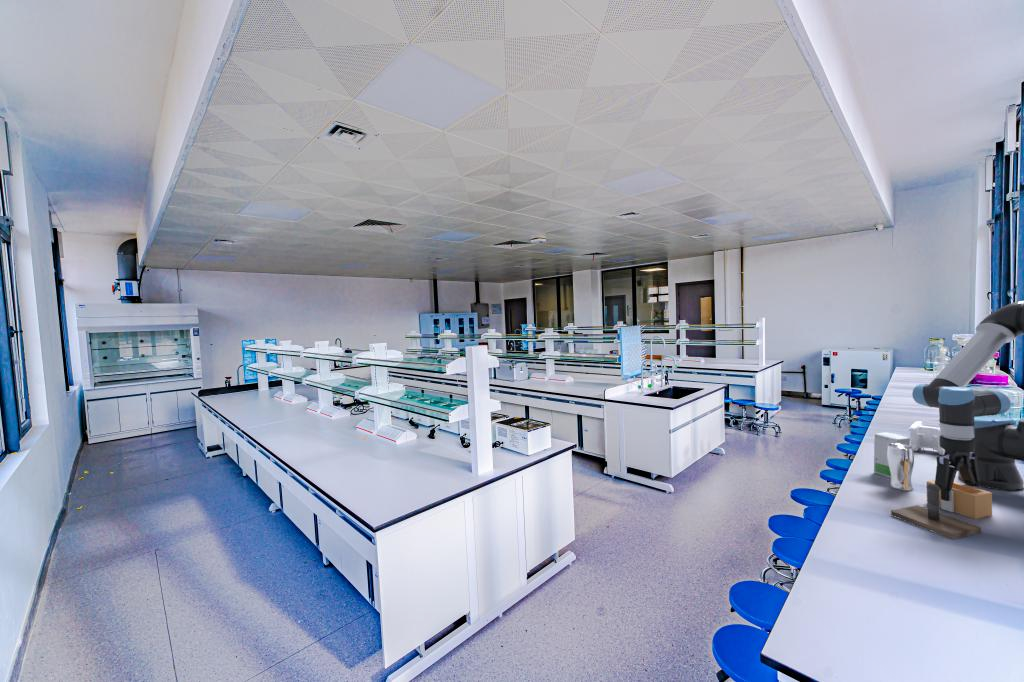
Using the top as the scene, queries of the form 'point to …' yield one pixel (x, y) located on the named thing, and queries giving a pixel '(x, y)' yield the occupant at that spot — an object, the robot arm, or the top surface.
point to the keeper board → (937, 526)
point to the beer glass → (900, 465)
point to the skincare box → (885, 450)
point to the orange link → (969, 500)
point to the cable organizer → (925, 437)
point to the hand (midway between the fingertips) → (957, 507)
